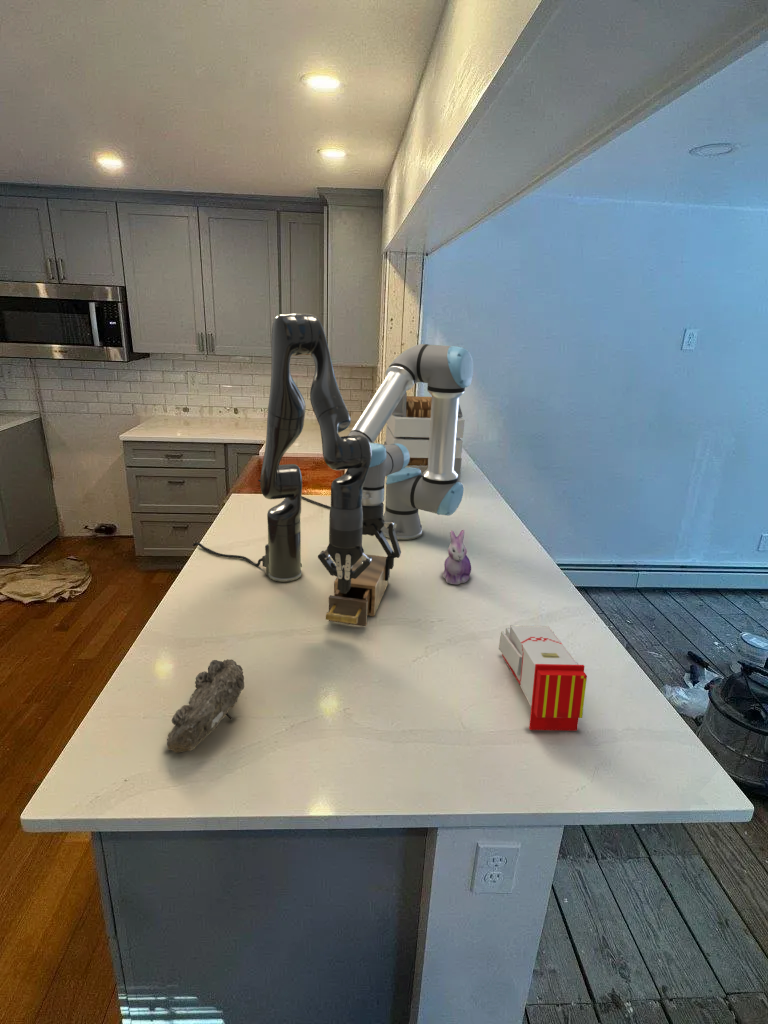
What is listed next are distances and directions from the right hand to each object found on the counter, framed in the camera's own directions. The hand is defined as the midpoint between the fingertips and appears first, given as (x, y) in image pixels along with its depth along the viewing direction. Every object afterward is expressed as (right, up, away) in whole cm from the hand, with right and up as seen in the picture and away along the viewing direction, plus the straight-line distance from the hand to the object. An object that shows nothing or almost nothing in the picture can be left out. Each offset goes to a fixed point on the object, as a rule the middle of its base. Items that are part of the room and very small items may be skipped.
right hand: (367, 576), depth 159 cm
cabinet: (-1, -5, -4) cm, 6 cm away
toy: (+37, -19, -38) cm, 56 cm away
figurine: (+26, -2, +9) cm, 28 cm away
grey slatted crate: (+22, +37, +116) cm, 123 cm away
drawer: (-3, -8, -14) cm, 16 cm away
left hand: (-5, -1, -26) cm, 26 cm away
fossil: (-28, -21, -51) cm, 62 cm away
